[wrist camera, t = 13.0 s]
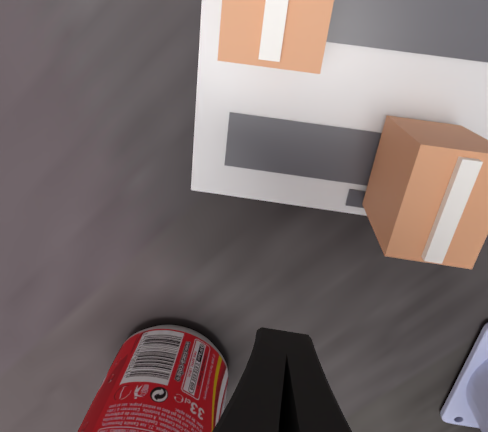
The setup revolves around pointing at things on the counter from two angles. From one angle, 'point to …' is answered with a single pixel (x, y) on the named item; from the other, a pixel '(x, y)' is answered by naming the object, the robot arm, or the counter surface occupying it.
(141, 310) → the counter surface
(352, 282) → the counter surface
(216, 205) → the counter surface
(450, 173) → the tab far
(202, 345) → the soda can
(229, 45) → the tab near
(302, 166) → the switch bank
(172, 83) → the counter surface
